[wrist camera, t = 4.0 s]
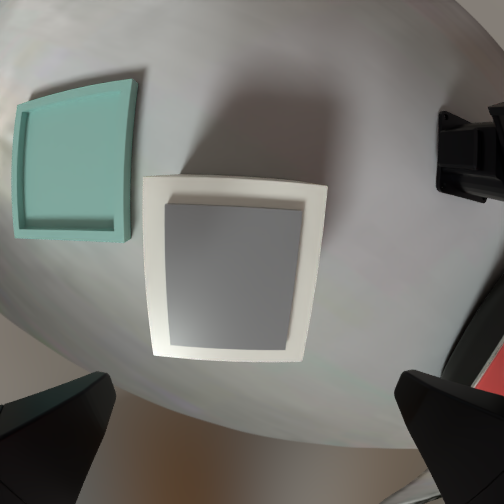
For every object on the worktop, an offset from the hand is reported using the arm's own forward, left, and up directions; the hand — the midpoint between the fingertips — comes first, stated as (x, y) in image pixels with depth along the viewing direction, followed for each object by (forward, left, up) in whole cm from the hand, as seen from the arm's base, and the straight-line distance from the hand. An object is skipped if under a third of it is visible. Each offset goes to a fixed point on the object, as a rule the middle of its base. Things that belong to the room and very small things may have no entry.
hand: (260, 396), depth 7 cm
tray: (+13, -7, -12) cm, 19 cm away
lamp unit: (+1, -2, -12) cm, 12 cm away
